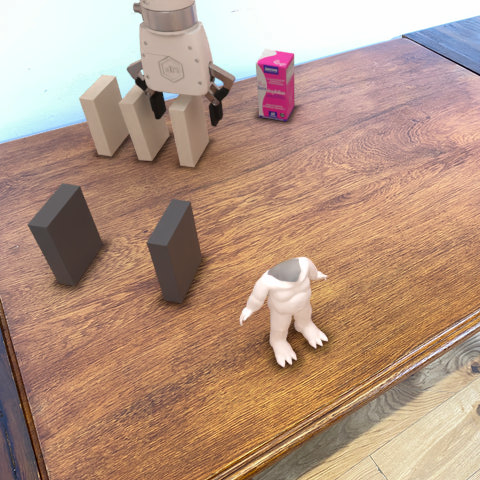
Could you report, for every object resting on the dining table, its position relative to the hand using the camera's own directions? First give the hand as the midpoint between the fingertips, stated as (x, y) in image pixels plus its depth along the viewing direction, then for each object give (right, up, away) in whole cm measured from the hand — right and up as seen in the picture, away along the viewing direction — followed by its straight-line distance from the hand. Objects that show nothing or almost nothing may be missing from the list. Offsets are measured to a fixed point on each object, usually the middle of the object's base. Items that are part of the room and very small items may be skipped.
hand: (188, 118), depth 85 cm
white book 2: (-8, -4, +6) cm, 10 cm away
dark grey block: (-11, -24, -14) cm, 30 cm away
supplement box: (+14, +5, +15) cm, 21 cm away
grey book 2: (+3, -26, -15) cm, 30 cm away
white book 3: (0, -5, +5) cm, 7 cm away
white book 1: (-15, -3, +7) cm, 16 cm away
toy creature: (+19, -33, -22) cm, 43 cm away
